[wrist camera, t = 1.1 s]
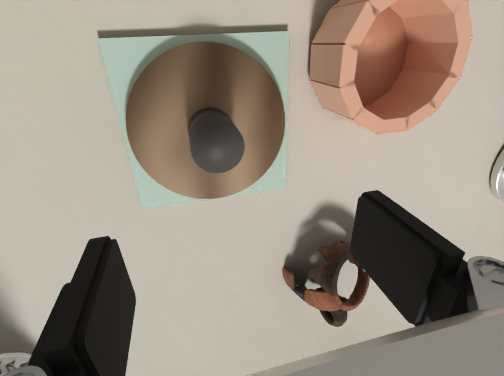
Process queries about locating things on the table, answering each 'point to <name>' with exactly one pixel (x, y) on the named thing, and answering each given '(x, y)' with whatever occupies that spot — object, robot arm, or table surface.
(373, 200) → the robot arm
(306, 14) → the table surface
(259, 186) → the mat
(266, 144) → the lid
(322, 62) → the bowl
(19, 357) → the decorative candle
